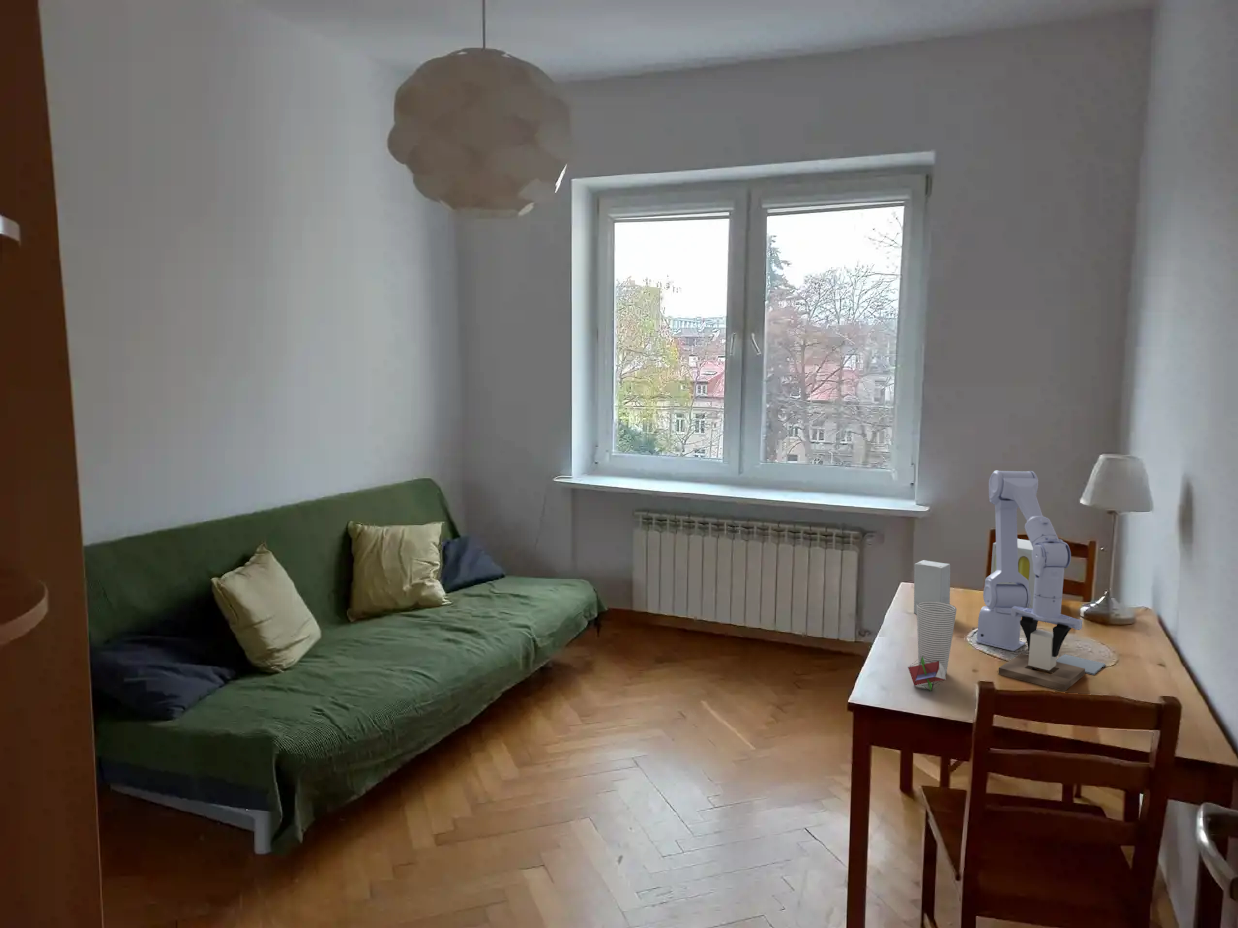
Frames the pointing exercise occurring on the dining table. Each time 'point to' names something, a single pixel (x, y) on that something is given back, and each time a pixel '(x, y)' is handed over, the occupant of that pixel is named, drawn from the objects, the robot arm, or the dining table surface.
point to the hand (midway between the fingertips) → (1043, 652)
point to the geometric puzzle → (927, 673)
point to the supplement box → (1021, 564)
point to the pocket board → (1058, 680)
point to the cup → (935, 631)
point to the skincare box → (931, 582)
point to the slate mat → (1081, 663)
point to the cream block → (1041, 650)
